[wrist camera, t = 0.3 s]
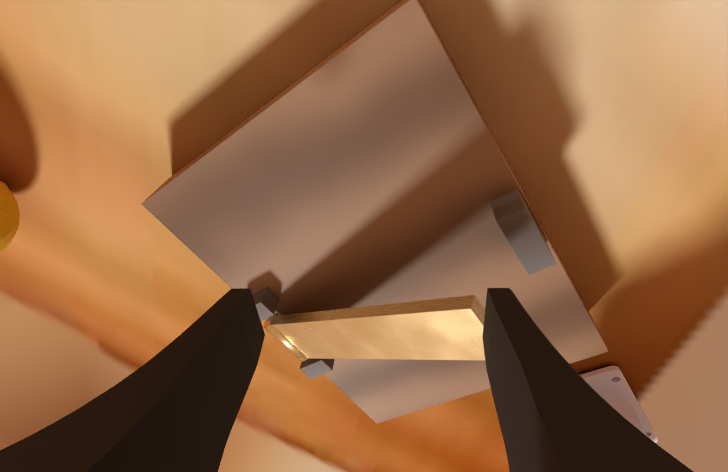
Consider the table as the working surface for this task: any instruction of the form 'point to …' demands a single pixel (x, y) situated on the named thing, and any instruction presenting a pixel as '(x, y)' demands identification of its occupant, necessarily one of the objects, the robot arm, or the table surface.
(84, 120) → the table surface
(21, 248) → the table surface
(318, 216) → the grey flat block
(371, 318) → the latch bar
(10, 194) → the lemon
